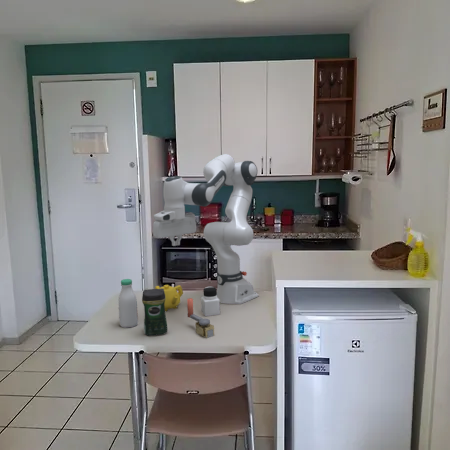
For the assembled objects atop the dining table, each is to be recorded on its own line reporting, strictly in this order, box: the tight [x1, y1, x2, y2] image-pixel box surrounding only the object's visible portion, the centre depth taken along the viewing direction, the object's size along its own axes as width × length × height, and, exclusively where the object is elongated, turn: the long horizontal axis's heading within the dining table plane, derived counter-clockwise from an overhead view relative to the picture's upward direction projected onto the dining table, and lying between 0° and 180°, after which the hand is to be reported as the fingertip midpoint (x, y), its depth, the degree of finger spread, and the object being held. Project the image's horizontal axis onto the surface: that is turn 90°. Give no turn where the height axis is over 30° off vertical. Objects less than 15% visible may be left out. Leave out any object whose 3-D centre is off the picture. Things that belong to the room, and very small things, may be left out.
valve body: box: [194, 321, 215, 339], centre depth 175 cm, size 8×5×4 cm, turn 37°
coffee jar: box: [141, 287, 169, 337], centre depth 175 cm, size 10×8×19 cm
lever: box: [186, 297, 211, 326], centre depth 177 cm, size 13×4×8 cm, turn 39°
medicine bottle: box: [200, 286, 221, 317], centre depth 196 cm, size 7×7×12 cm
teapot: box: [154, 284, 184, 312], centre depth 204 cm, size 20×18×11 cm
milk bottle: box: [118, 278, 139, 328], centre depth 184 cm, size 8×8×20 cm
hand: (175, 245), depth 187 cm, fingers closed
